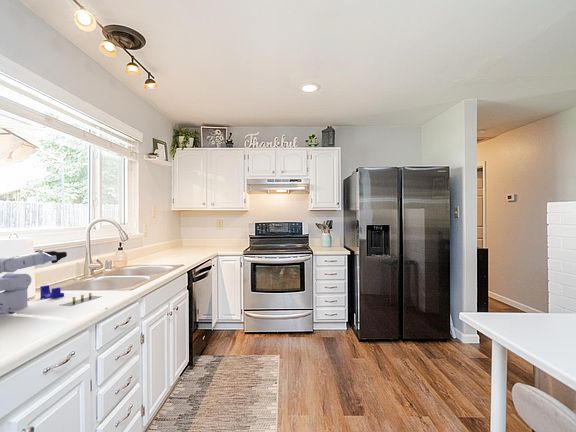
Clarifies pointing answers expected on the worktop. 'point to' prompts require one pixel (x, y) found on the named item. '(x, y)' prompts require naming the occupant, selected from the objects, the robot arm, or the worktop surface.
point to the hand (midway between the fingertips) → (60, 253)
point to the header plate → (80, 301)
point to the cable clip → (47, 294)
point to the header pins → (82, 297)
